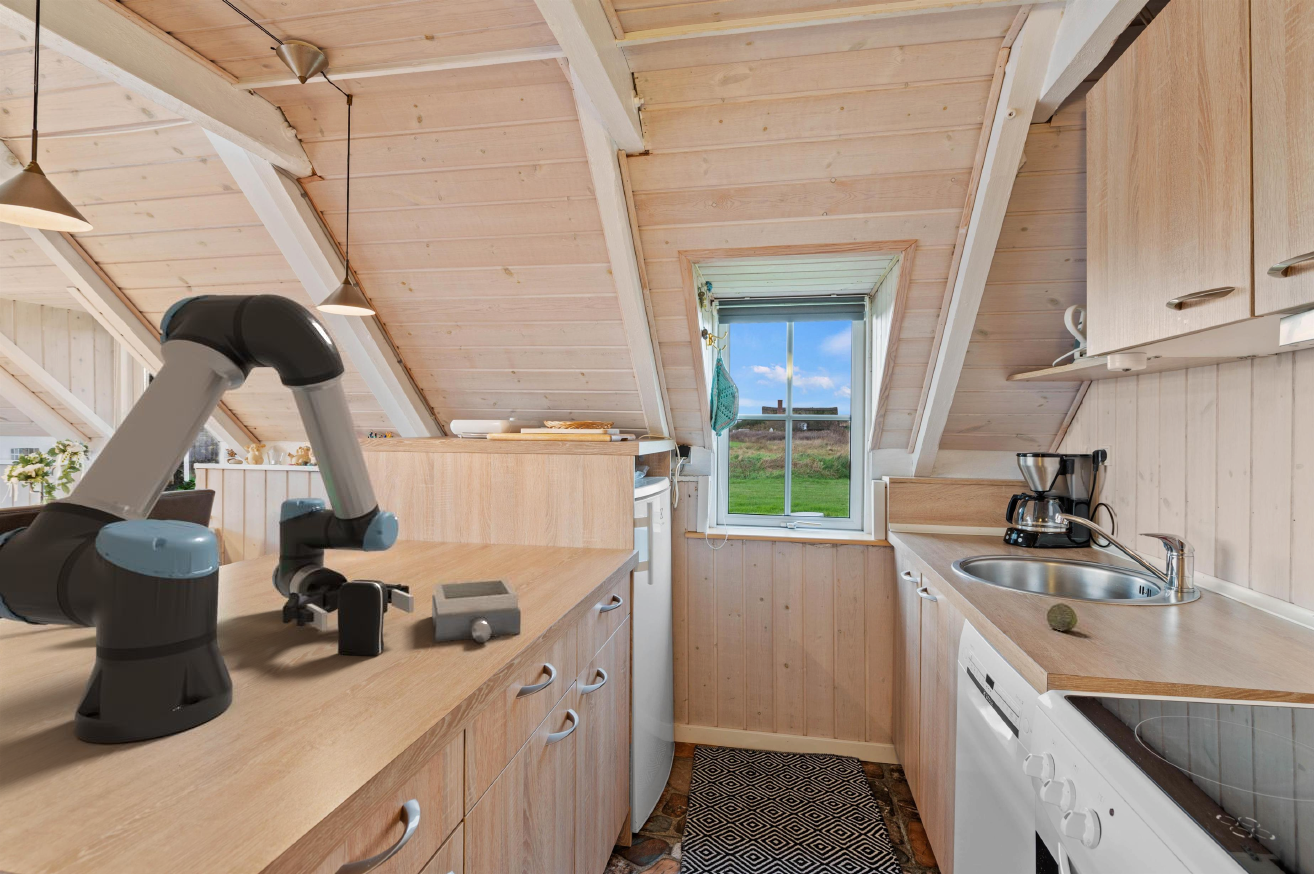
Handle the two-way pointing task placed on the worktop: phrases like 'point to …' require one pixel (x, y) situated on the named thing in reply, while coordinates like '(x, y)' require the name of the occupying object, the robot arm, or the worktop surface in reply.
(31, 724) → the worktop surface
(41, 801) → the worktop surface
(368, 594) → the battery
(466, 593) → the grey drawer box
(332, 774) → the worktop surface
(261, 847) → the worktop surface
